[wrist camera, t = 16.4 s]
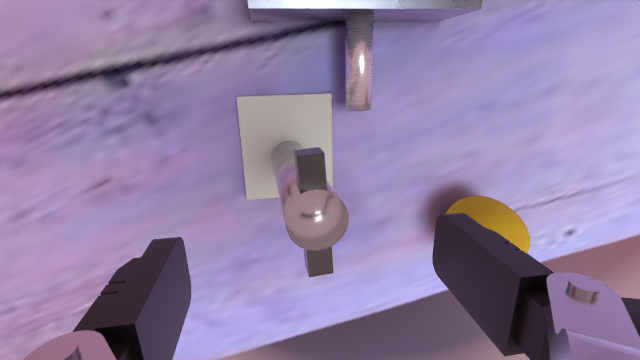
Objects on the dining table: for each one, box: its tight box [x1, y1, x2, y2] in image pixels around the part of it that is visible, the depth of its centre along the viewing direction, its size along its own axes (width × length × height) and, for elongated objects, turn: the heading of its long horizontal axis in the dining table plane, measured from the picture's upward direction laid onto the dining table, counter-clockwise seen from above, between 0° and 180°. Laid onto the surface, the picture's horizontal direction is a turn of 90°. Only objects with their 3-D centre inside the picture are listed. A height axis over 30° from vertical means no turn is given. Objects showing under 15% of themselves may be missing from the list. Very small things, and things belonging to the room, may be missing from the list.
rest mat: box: [236, 93, 333, 200], centre depth 26 cm, size 8×7×1 cm
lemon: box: [446, 196, 530, 253], centre depth 27 cm, size 6×6×8 cm
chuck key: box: [271, 141, 348, 277], centre depth 20 cm, size 3×6×12 cm, turn 5°
